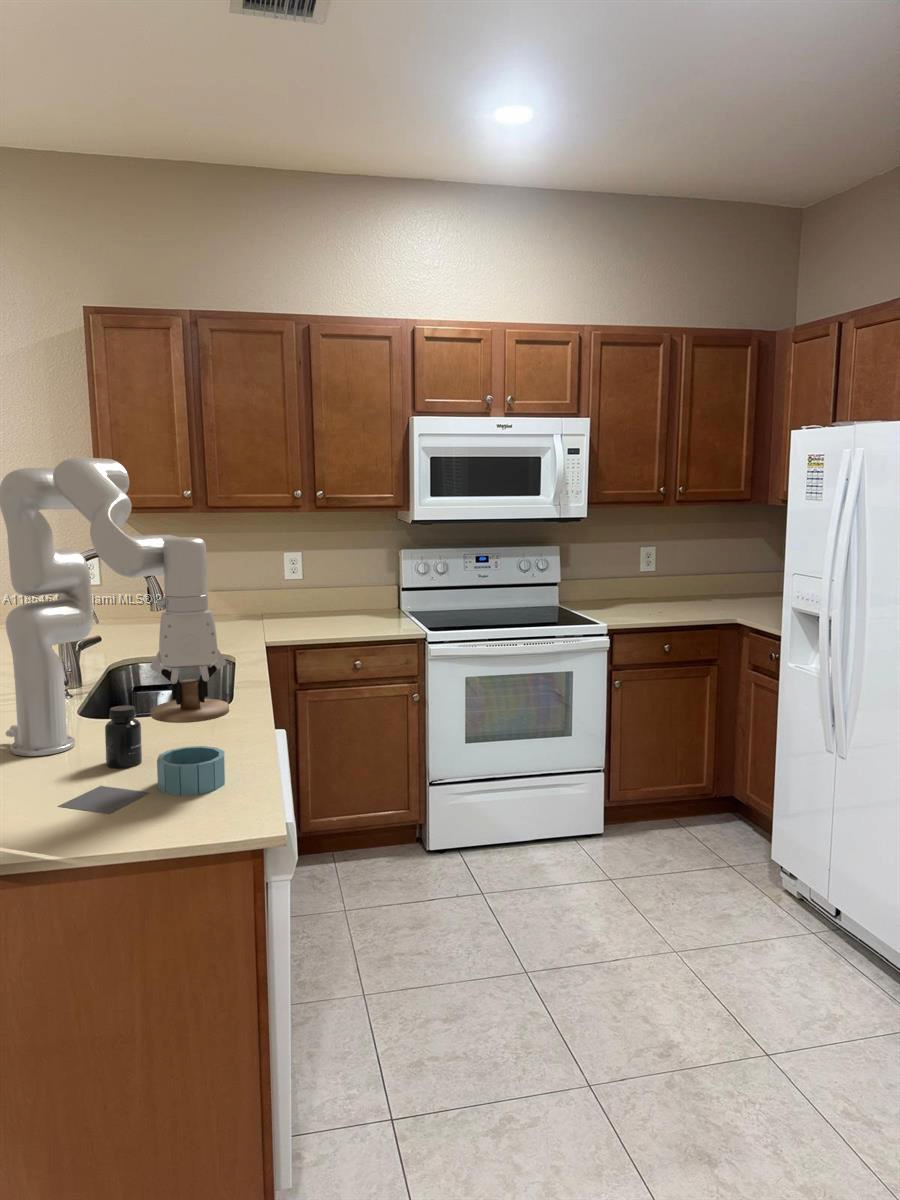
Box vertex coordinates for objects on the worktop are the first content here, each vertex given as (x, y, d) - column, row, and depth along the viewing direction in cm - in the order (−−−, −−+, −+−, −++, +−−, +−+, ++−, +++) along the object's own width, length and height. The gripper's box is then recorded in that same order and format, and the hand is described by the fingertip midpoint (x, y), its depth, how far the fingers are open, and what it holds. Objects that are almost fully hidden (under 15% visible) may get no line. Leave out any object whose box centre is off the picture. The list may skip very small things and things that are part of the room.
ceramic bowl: (145, 793, 159) (143, 761, 158) (183, 773, 170) (182, 743, 169) (201, 800, 155) (200, 768, 154) (237, 779, 166) (236, 749, 166)
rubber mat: (57, 809, 150) (57, 806, 150) (100, 788, 161) (100, 785, 161) (109, 816, 147) (109, 813, 147) (150, 795, 158) (150, 792, 158)
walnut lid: (134, 719, 156) (133, 686, 155) (180, 701, 169) (179, 671, 168) (201, 725, 152) (200, 692, 151) (243, 706, 165) (242, 676, 164)
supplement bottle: (141, 769, 172) (139, 711, 170) (104, 772, 170) (102, 713, 168) (143, 759, 178) (141, 702, 177) (108, 761, 176) (105, 704, 175)
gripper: (139, 609, 151) (144, 710, 154) (235, 605, 158) (238, 702, 160) (137, 604, 158) (142, 701, 160) (229, 600, 164) (232, 693, 167)
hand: (190, 700), depth 160 cm, fingers closed on walnut lid, 3 cm apart
